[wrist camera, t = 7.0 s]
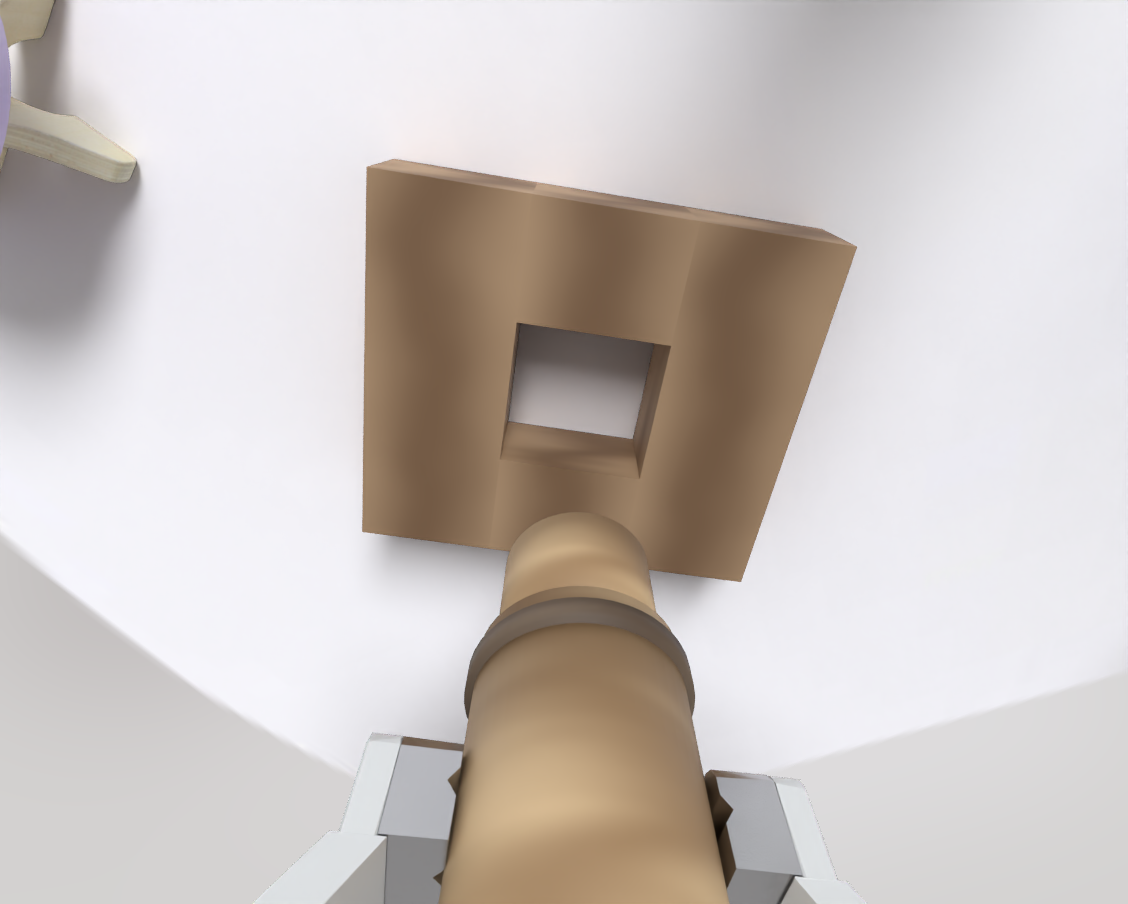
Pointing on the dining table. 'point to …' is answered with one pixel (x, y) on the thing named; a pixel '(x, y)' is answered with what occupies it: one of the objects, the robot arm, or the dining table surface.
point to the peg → (580, 737)
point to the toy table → (21, 12)
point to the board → (596, 306)
